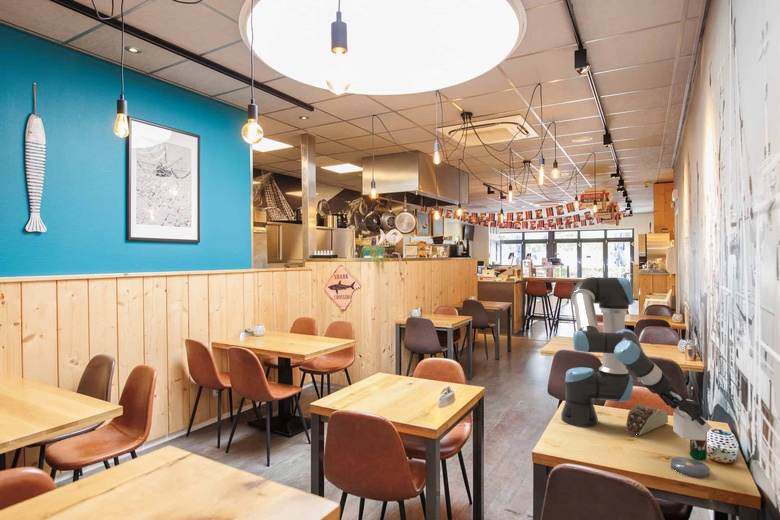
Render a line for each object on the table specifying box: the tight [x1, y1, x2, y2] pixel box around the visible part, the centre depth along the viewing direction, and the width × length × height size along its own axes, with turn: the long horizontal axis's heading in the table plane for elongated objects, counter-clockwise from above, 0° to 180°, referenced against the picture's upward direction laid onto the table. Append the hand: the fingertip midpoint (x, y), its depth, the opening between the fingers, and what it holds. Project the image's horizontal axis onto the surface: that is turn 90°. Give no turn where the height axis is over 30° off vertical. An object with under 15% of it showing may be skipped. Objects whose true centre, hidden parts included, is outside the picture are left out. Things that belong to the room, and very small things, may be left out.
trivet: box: [670, 456, 711, 479], centre depth 150 cm, size 11×11×2 cm
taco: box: [625, 403, 669, 438], centre depth 187 cm, size 10×27×10 cm, turn 124°
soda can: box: [689, 432, 708, 461], centre depth 160 cm, size 5×5×12 cm
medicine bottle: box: [672, 399, 707, 441], centre depth 150 cm, size 7×7×12 cm
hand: (698, 424), depth 150 cm, fingers closed on medicine bottle, 8 cm apart
